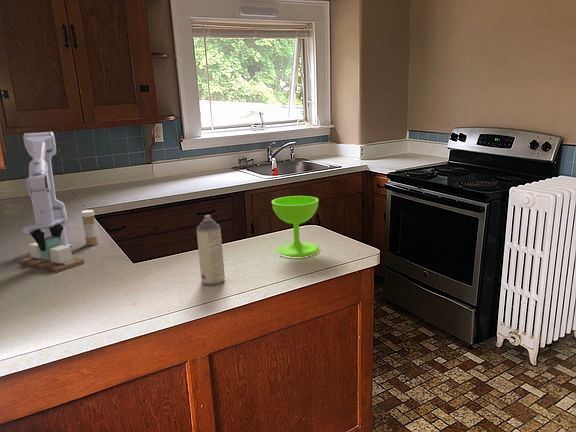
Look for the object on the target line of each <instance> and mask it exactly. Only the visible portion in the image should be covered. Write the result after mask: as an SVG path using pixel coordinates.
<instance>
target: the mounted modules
mask: <svg viewBox="0 0 576 432" xmlns="http://www.w3.org/2000/svg"><path fill="white" fill-rule="evenodd" d="M28 247H29V253H30V255H31V257H35V258H42V257H44V256H41V253H40V248H39V246H38V244H37V242H36V241H35V242H32V243H30V244H28ZM71 247H72V246H70V247H69V246H64V245H60V246H57V247H54V248H50V255H51V261H52V262H56V263H63V262H66V261H69V260H72V257H73V254H72V249H71Z"/></svg>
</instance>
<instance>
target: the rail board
mask: <svg viewBox="0 0 576 432" xmlns="http://www.w3.org/2000/svg"><path fill="white" fill-rule="evenodd" d="M72 260H74V263H71V264H68V265H61V264H57V263H53V262H48V261H44V260H40V259H36V258H31V257H30V256H27V257H25V258H22V259H21V258H20V259H19V262H20V264H23V265H27V266H31V267H36V268H39V269H42V270H47V271H52V272H54V273H55V272H56V273H58V272H59V273H60V272H63V271H65V270H67V269H72V268H74V267H77V266H80V265H83V264H84V263H85V259H83V258H78V257H73V256H72Z"/></svg>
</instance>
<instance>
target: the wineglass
mask: <svg viewBox="0 0 576 432" xmlns="http://www.w3.org/2000/svg"><path fill="white" fill-rule="evenodd" d="M319 201H320V200H319V198H318V197H314V196H310V195H308V196H307V195H292V196H291V195H289V196H283V197H279V198H278V197H277V198H275V199H273V200H271V205H272V206H271V207H272V210H273V212H274V214H275V215H276V217H278V218H279V220H281V221H283V222H284V223H287V224H290V225H293V226H292V227H293V228H292V229H293V242H288V243H283V244H284V245H285V244H291V243H293V244H292V245H290V246H287V247H285V248H283V249H281V247H282V246H283V244H282V245H281V246H280V245H279V246H277V247H278V248H277V247H276V248H277V251H278V253H280V254H282V255H286V256H290V257H305V256H310V255H313V254H316V253H317V252H318V251H319V248H320V246H318V245H317V244H315V243H311V242H306V241H305V242H303V241H300V225H301V224H304V223H306V222H307V221H309V220H310V219H311V218H312V217H313V216H314V215H315V214H316V212H317V210H318V207H319ZM302 243H305V244H306V245H305V244H304V245H303V244H302Z"/></svg>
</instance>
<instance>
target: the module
mask: <svg viewBox="0 0 576 432" xmlns="http://www.w3.org/2000/svg"><path fill="white" fill-rule="evenodd" d="M44 242H45V251H40V253H41V256H44V257H48V258H50V257H51V255H50V248H54V247H57V246H60V241H59V237H54V236H48V237H44Z"/></svg>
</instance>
